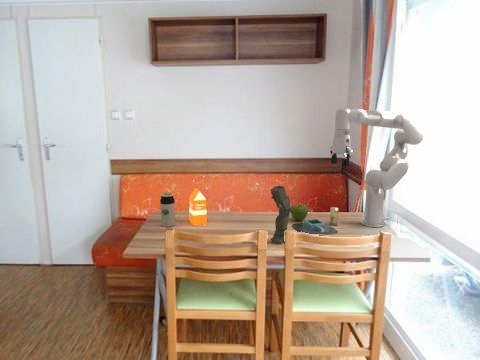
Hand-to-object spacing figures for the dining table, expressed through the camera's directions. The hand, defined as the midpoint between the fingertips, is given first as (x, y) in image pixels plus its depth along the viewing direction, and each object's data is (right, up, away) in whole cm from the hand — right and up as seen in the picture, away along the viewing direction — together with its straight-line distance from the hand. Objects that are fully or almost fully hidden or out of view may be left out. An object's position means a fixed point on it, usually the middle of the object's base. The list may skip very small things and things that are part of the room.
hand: (339, 164), depth 194 cm
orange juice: (-78, -33, +16) cm, 86 cm away
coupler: (0, -34, +13) cm, 36 cm away
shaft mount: (-13, -36, +4) cm, 38 cm away
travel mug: (-94, -34, +12) cm, 101 cm away
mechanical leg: (-33, -39, -13) cm, 53 cm away
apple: (-19, -32, +21) cm, 43 cm away
